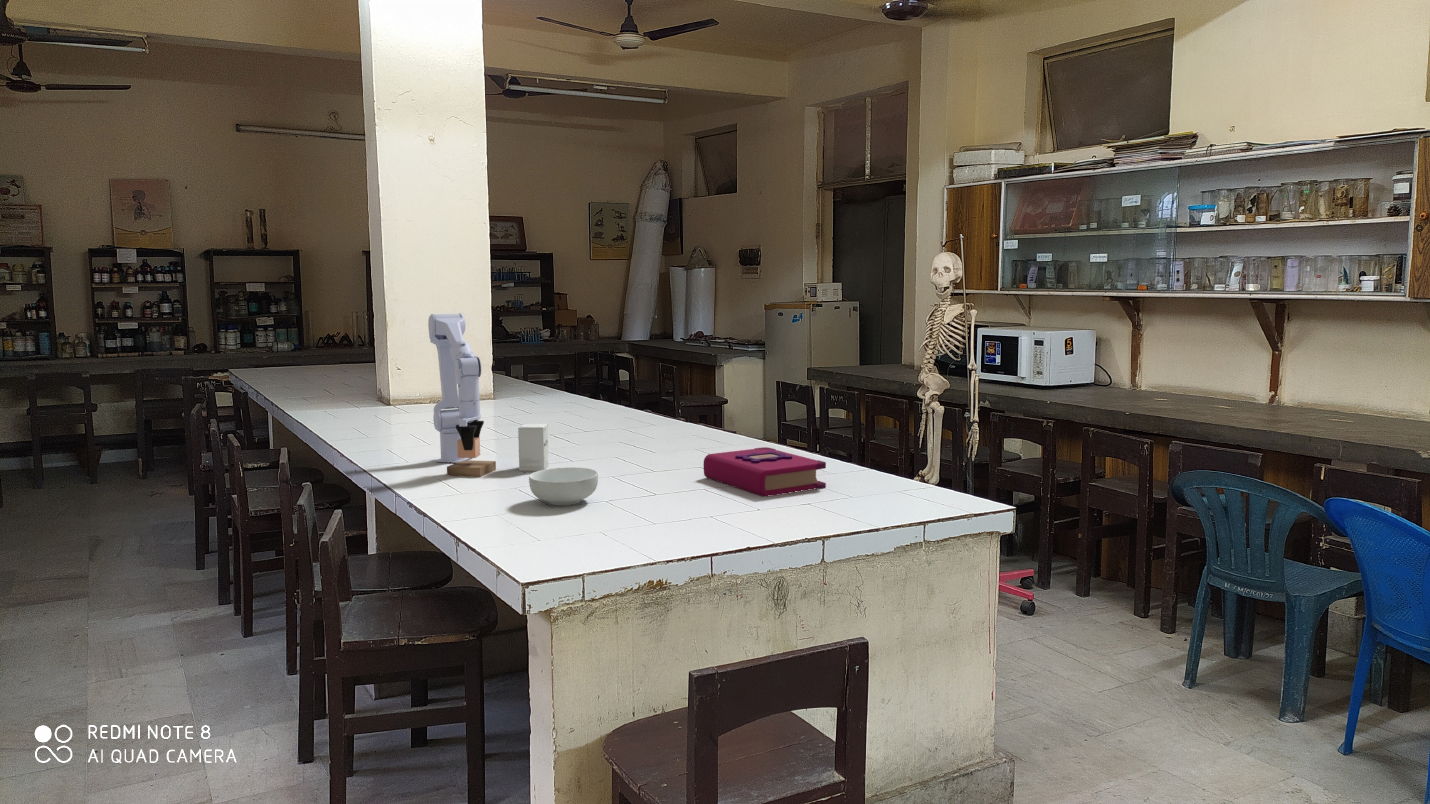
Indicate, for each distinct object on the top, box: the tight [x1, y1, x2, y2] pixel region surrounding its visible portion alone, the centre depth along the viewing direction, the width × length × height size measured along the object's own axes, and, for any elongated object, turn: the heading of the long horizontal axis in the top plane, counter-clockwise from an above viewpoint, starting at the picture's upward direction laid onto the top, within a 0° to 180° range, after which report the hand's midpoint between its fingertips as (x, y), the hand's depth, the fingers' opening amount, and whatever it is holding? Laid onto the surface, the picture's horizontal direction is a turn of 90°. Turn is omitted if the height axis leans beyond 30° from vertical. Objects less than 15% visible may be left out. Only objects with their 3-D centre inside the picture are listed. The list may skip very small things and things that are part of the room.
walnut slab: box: [446, 459, 497, 478], centre depth 276 cm, size 10×10×3 cm
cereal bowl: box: [528, 466, 599, 506], centre depth 239 cm, size 17×17×7 cm
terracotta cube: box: [457, 436, 481, 459], centre depth 275 cm, size 5×5×5 cm
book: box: [703, 446, 827, 497], centre depth 260 cm, size 21×28×8 cm
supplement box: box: [517, 423, 549, 472], centre depth 281 cm, size 7×7×13 cm
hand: (471, 448), depth 275 cm, fingers closed on terracotta cube, 5 cm apart
